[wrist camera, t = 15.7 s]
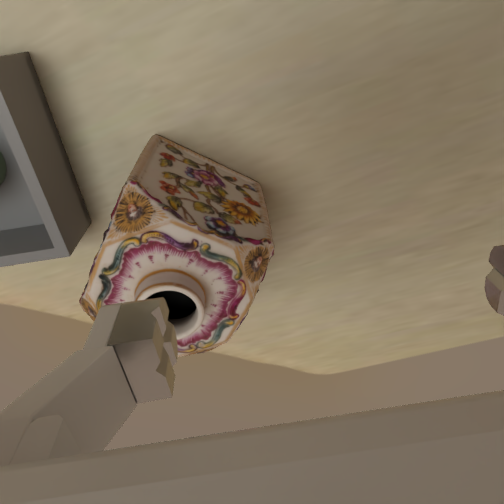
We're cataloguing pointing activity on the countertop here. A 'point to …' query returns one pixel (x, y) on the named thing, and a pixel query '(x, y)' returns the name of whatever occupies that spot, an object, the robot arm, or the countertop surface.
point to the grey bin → (34, 173)
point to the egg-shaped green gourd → (2, 168)
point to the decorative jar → (184, 245)
